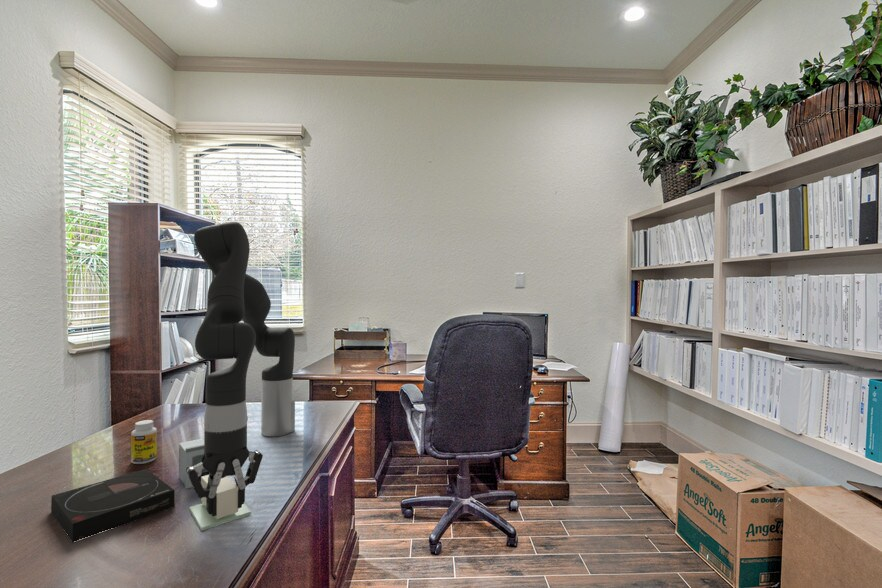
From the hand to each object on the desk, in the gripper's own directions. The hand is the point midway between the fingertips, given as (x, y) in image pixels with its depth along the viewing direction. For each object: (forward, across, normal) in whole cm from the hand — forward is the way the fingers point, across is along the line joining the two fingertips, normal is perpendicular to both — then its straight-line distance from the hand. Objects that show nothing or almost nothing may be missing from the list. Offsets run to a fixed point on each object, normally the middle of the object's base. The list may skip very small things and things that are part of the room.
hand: (225, 510), depth 84 cm
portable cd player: (+3, +16, -19) cm, 25 cm away
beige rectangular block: (+1, 0, -4) cm, 4 cm away
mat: (+2, 0, -4) cm, 4 cm away
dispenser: (+2, -1, -24) cm, 24 cm away
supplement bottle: (+2, +8, -45) cm, 46 cm away
